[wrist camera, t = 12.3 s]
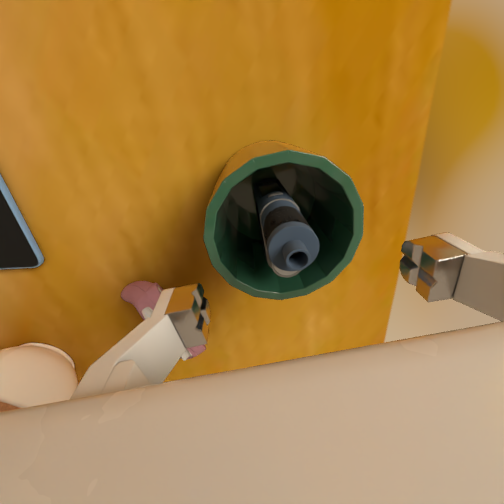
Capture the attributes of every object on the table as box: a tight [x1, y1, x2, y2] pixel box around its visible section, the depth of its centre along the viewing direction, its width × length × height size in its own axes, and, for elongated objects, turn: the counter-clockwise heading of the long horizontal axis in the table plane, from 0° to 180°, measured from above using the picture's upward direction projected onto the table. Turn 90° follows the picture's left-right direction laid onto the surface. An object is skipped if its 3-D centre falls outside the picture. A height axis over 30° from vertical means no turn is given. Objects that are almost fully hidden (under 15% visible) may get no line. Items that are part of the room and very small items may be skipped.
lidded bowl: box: [0, 343, 78, 412], centre depth 26 cm, size 13×13×11 cm
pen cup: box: [203, 140, 364, 300], centre depth 18 cm, size 9×9×9 cm
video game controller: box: [121, 281, 206, 361], centre depth 25 cm, size 10×5×7 cm, turn 24°
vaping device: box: [254, 179, 319, 277], centre depth 16 cm, size 3×5×12 cm, turn 10°
